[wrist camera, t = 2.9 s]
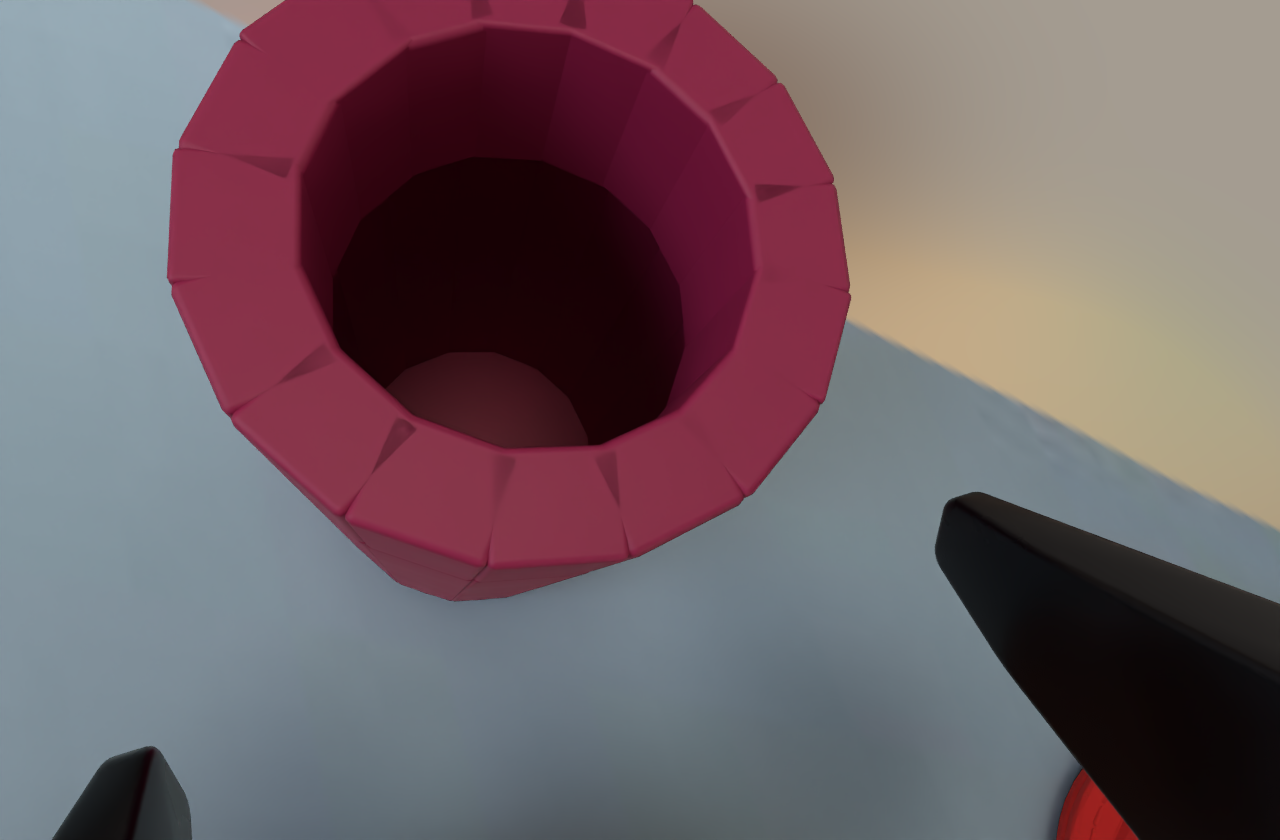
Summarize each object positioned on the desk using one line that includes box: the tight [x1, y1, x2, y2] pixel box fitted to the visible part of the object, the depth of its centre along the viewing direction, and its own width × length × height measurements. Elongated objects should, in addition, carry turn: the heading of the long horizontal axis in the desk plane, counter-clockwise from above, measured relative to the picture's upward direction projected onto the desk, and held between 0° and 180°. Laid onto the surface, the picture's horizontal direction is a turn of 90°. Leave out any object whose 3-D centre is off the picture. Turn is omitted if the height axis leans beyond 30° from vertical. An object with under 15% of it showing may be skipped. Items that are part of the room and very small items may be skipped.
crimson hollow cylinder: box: [167, 0, 851, 601], centre depth 14 cm, size 6×6×13 cm
